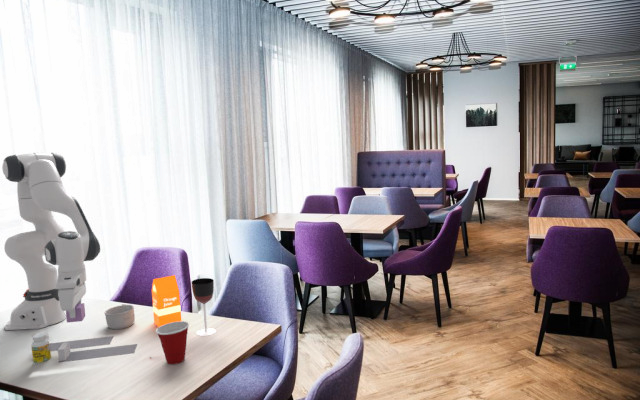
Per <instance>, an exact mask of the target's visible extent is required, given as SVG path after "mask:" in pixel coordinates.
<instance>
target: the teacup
mask: <svg viewBox="0 0 640 400" xmlns="http://www.w3.org/2000/svg"><path fill="white" fill-rule="evenodd" d="M134 308H135V307H134V306H133V305H132V304H125V303H122V304H121V305H116V306H113V307H110V308H108V309H106V310H105V311H104V315H105V322H106V325H107V327H108V329H110V330H121V329H126V328H129V327H131V326H132V325H133V324H134V322H135V319H136V318H135V309H134Z"/></svg>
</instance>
